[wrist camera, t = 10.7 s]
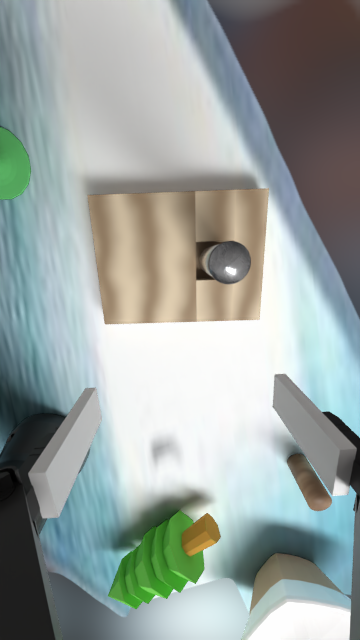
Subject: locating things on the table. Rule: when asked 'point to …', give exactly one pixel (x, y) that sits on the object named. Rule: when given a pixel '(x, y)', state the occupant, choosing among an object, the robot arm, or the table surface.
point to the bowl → (296, 603)
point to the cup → (12, 166)
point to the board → (176, 254)
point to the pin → (226, 262)
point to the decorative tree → (164, 559)
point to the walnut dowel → (309, 483)
